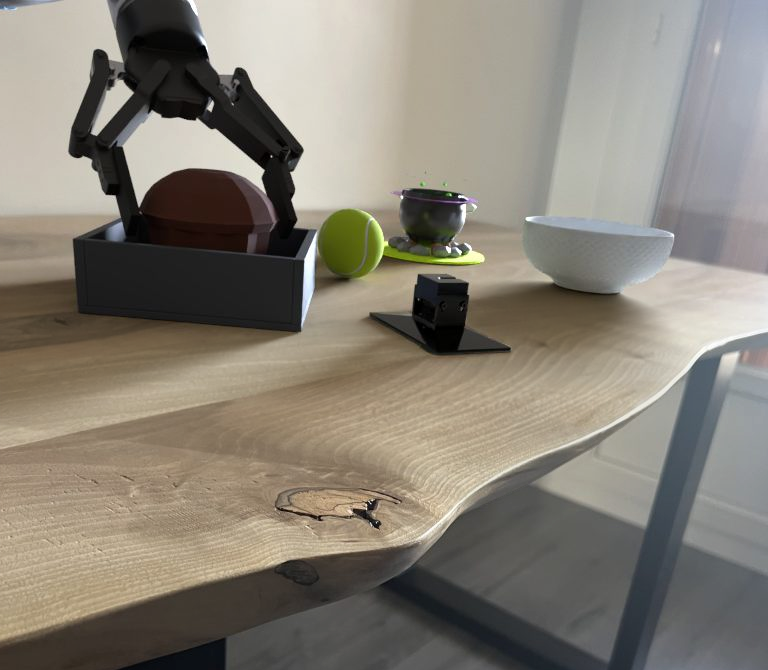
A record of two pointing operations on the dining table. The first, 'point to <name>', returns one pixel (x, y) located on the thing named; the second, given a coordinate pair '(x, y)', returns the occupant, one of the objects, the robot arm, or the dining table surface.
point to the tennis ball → (350, 243)
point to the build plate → (440, 318)
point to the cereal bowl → (594, 252)
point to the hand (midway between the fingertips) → (214, 228)
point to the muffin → (209, 212)
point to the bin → (195, 279)
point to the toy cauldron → (432, 227)
